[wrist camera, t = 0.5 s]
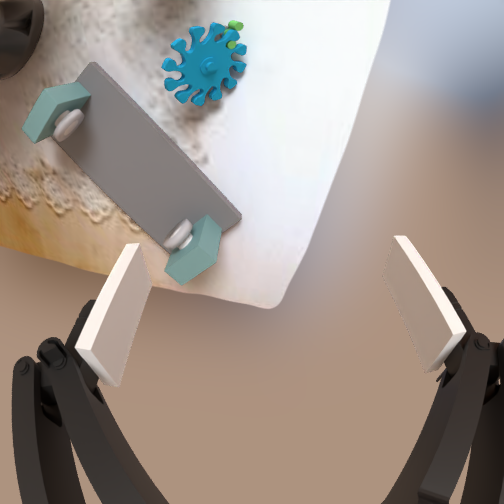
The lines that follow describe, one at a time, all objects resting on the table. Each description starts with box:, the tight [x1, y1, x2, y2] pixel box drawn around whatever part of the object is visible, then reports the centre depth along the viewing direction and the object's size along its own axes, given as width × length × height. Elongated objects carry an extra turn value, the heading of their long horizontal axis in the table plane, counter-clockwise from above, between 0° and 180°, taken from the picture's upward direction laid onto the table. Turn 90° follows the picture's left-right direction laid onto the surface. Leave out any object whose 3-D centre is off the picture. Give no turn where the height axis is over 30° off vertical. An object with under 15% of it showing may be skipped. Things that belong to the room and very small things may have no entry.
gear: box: [161, 20, 247, 106], centre depth 25 cm, size 11×6×10 cm
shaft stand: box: [22, 62, 242, 285], centre depth 31 cm, size 31×12×9 cm, turn 38°
